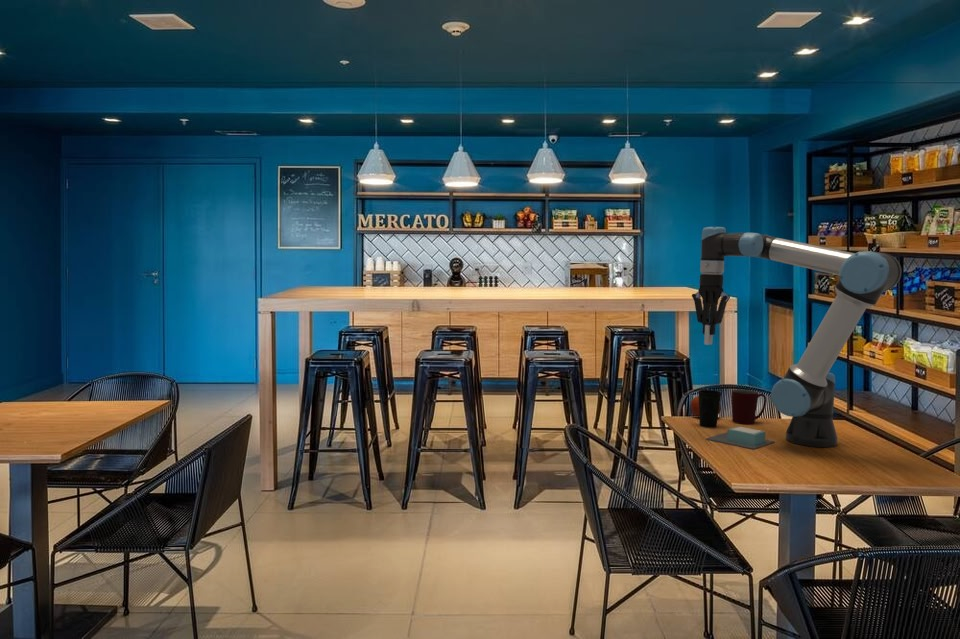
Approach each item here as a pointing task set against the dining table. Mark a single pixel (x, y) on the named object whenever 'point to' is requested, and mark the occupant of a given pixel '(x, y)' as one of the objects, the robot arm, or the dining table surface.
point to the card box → (746, 436)
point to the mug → (745, 406)
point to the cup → (709, 407)
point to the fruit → (697, 406)
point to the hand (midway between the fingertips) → (708, 344)
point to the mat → (723, 439)
